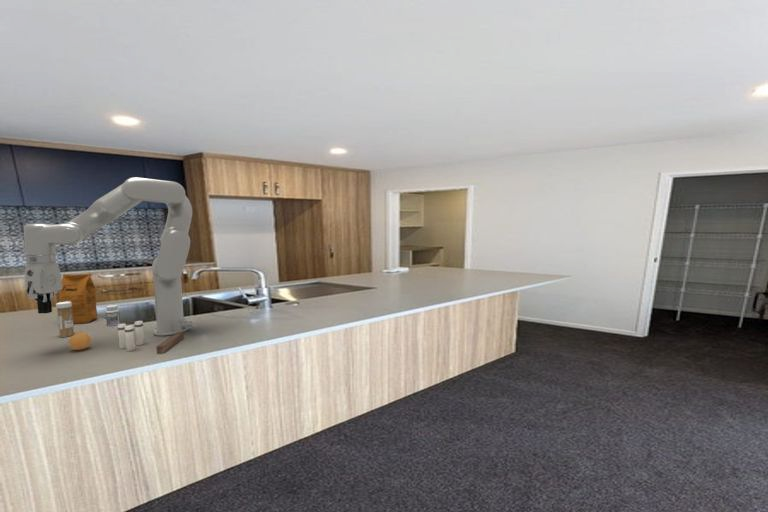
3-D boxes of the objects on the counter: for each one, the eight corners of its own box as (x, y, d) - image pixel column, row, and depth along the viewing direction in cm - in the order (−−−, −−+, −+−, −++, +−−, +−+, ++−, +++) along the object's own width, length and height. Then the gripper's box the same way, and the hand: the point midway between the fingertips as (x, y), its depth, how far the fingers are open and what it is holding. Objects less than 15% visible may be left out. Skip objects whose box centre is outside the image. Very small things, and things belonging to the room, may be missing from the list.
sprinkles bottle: (73, 336, 142) (70, 302, 140) (58, 338, 139) (54, 304, 138) (75, 333, 146) (72, 300, 144) (60, 335, 143) (57, 302, 142)
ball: (96, 346, 130) (94, 330, 129) (84, 352, 124) (82, 335, 123) (78, 347, 129) (76, 330, 129) (65, 353, 123) (63, 336, 123)
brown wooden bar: (183, 338, 138) (183, 331, 138) (163, 353, 122) (162, 346, 122) (178, 338, 138) (177, 331, 138) (157, 353, 122) (156, 346, 122)
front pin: (129, 346, 130) (127, 323, 129) (125, 348, 127) (123, 325, 126) (122, 346, 129) (120, 323, 128) (117, 349, 127) (115, 325, 126)
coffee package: (72, 319, 167) (68, 272, 165) (101, 318, 168) (97, 271, 166) (56, 325, 157) (51, 275, 155) (87, 324, 158) (82, 274, 156)
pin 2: (146, 342, 133) (144, 320, 132) (142, 345, 130) (140, 322, 130) (138, 343, 133) (136, 320, 132) (134, 345, 130) (132, 322, 129)
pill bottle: (111, 323, 159) (109, 304, 159) (122, 322, 160) (121, 304, 159) (104, 326, 155) (102, 307, 154) (115, 326, 155) (114, 307, 154)
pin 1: (136, 348, 127) (135, 325, 126) (132, 351, 125) (130, 327, 124) (129, 348, 127) (127, 325, 126) (124, 351, 124) (122, 327, 123)
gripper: (35, 262, 115) (39, 318, 117) (69, 257, 130) (73, 307, 132) (9, 262, 114) (13, 318, 116) (47, 258, 129) (50, 308, 131)
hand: (45, 312), depth 124 cm, fingers closed
